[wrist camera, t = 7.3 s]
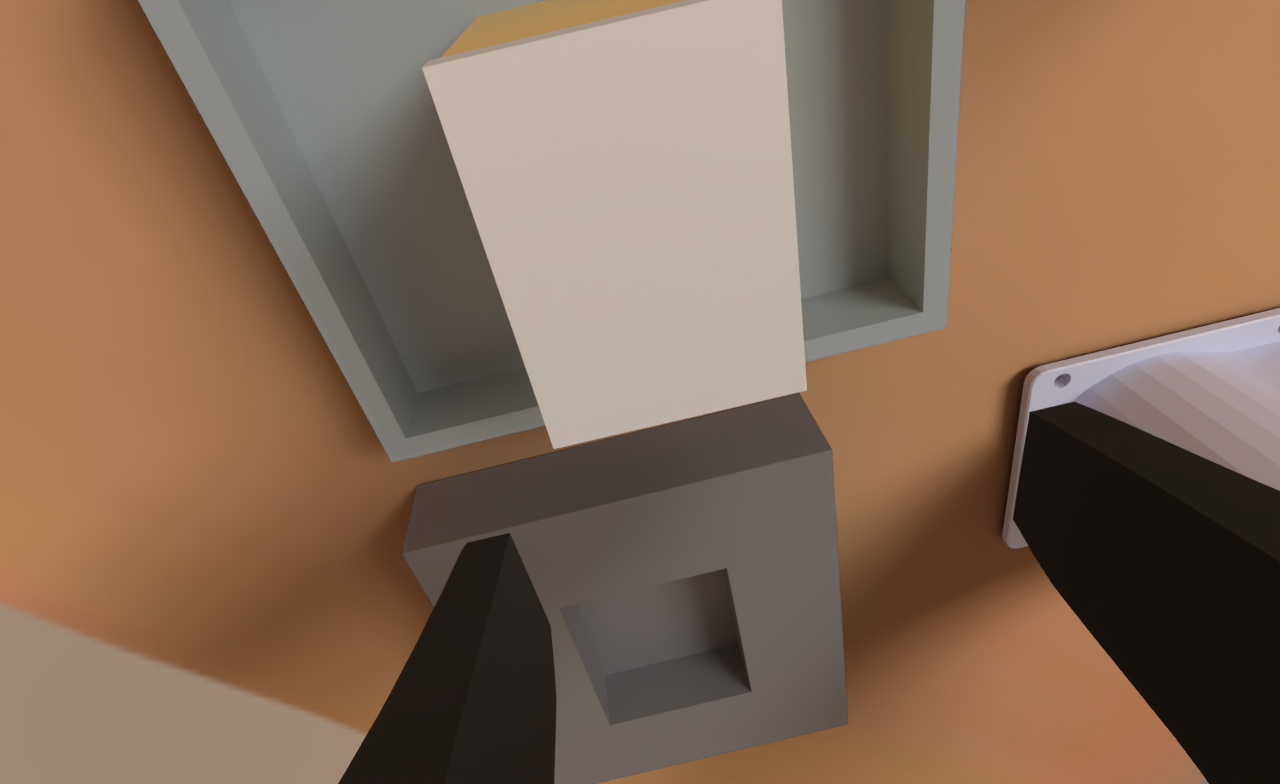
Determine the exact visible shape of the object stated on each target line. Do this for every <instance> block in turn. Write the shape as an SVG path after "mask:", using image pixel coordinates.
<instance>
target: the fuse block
mask: <svg viewBox="0 0 1280 784" xmlns="http://www.w3.org/2000/svg"><path fill="white" fill-rule="evenodd" d="M507 533H510V534H511V536H512V539H513V541H514V543H515V546H516V548H517V550H518V552H519V555H520V557H521V559H522V561H523V564H524V566H525V568H526V571H527V573H528V575H529V577H530V580H531V582H532V584H533V586H534V589H535V591H536V593H537V596H538V598H539V600H540V602H541V605H542V607H543V609H544V611H545V614H546V616H547V618H548V621H549V623H550V625H551V634H552V645H553V657H554V669H555V683H556V697H557V703H556V743H555V776H554V784H596V783H600V782H605V781H609V780H613V779H617V778H621V777H626V776H630V775H634V774H638V773H643V772H647V771H651V770H655V769H660V768H664V767H668V766H672V765H677V764H681V763H685V762H689V761H694V760H698V759H702V758H706V757H710V756H715V755H719V754H723V753H727V752H732V751H736V750H740V749H744V748H749V747H753V746H757V745H761V744H766V743H770V742H774V741H778V740H783V739H787V738H791V737H795V736H799V735H804V734H808V733H812V732H816V731H821V730H825V729H829V728H833V727H838V726H842V725H846V724H848V713H847V696H846V679H845V662H844V645H843V628H842V611H841V594H840V577H839V561H838V544H837V527H836V510H835V493H834V476H833V459H832V449H831V447H830V445H829V444H828V442H827V440H826V438H825V437H824V435H823V433H822V432H821V430H820V428H819V426H818V425H817V423H816V421H815V419H814V418H813V416H812V414H811V413H810V411H809V409H808V407H807V406H806V404H805V402H804V400H803V399H802V397H801V395H800V394H799V393H796V394H792V395H788V396H784V397H779V398H775V399H771V400H767V401H763V402H759V403H755V404H751V405H746V406H742V407H738V408H734V409H730V410H726V411H722V412H718V413H714V414H709V415H705V416H701V417H697V418H693V419H689V420H685V421H681V422H677V423H672V424H668V425H664V426H660V427H656V428H652V429H648V430H644V431H640V432H635V433H631V434H627V435H623V436H619V437H615V438H611V439H607V440H602V441H598V442H594V443H590V444H586V445H582V446H578V447H574V448H570V449H565V450H561V451H557V452H553V453H549V454H545V455H541V456H537V457H533V458H528V459H524V460H520V461H516V462H512V463H508V464H504V465H500V466H495V467H491V468H487V469H483V470H479V471H475V472H471V473H467V474H463V475H458V476H454V477H450V478H446V479H442V480H438V481H434V482H430V483H426V484H421V485H417V488H416V493H415V497H414V501H413V506H412V510H411V514H410V519H409V523H408V527H407V532H406V536H405V541H404V545H403V549H402V555H403V557H404V559H405V560H406V562H407V564H408V565H409V567H410V569H411V570H412V572H413V574H414V575H415V577H416V579H417V580H418V582H419V584H420V585H421V587H422V589H423V590H424V592H425V594H426V595H427V597H428V599H429V600H430V602H431V604H432V605H433V607H435V605H436V603H437V601H438V599H439V597H440V595H441V592H442V590H443V588H444V586H445V584H446V582H447V580H448V578H449V576H450V573H451V571H452V569H453V567H454V565H455V563H456V561H457V559H458V557H459V554H460V552H461V550H462V549H463V547H464V546H465V544H466V543H468V542H472V541H477V540H481V539H485V538H489V537H494V536H498V535H502V534H507Z"/></svg>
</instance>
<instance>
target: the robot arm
mask: <svg viewBox="0 0 1280 784" xmlns="http://www.w3.org/2000/svg"><path fill="white" fill-rule="evenodd" d="M1060 375H1061V376H1060ZM1058 376H1060V377H1059V378H1058V379H1057V380H1055V379H1056V378H1057V377H1058ZM1002 538H1003V540H1004V542H1005V543H1006V544H1007V545H1008V546H1009V547H1010V548H1014V549H1016V548H1022V547H1026V546H1029V548H1030V549H1031V551H1032V553H1033V555H1034V556H1035V558H1036V559H1037V561H1038V562H1039V564H1040V566H1041V567H1042V569H1043V570H1044V572H1045V573H1046V575H1047V577H1048V578H1049V580H1050V581H1051V583H1052V584H1053V586H1054V587H1055V588H1056V590H1057V591H1058V592H1059V593H1060V595H1061V596H1062V597H1063V599H1064V600H1065V601H1066V602H1067V604H1068V605H1069V606H1070V607H1071V609H1072V610H1073V611H1074V612H1075V614H1076V615H1077V616H1078V618H1079V619H1080V620H1081V621H1082V623H1083V624H1084V625H1085V626H1086V628H1087V629H1088V630H1089V631H1090V633H1091V634H1092V635H1093V636H1094V638H1095V639H1096V640H1097V641H1098V643H1099V644H1100V645H1101V646H1102V648H1103V649H1104V650H1105V651H1106V653H1107V654H1108V655H1109V656H1110V657H1111V659H1112V660H1113V661H1114V662H1115V664H1116V665H1117V666H1118V667H1119V669H1120V670H1121V671H1122V672H1123V674H1124V675H1125V676H1126V677H1127V679H1128V680H1129V681H1130V682H1131V683H1132V685H1133V686H1134V687H1135V688H1136V690H1137V691H1138V692H1139V693H1140V695H1141V696H1142V697H1143V698H1144V700H1145V701H1146V702H1147V703H1148V705H1149V706H1150V707H1151V708H1152V710H1153V711H1154V712H1155V713H1156V714H1157V716H1158V717H1159V718H1160V719H1161V721H1162V722H1163V723H1164V724H1165V726H1166V727H1167V728H1168V729H1169V731H1170V732H1171V733H1172V734H1173V736H1174V737H1175V738H1176V739H1177V741H1178V742H1179V743H1180V745H1181V746H1182V747H1183V749H1184V750H1185V751H1186V753H1187V754H1188V755H1189V757H1190V758H1191V759H1192V761H1193V762H1194V763H1195V765H1196V766H1197V767H1198V769H1199V770H1200V771H1201V773H1202V774H1203V776H1204V777H1205V779H1206V780H1207V782H1208V783H1209V784H1280V308H1277V309H1273V310H1269V311H1265V312H1260V313H1256V314H1252V315H1248V316H1244V317H1240V318H1236V319H1231V320H1227V321H1223V322H1219V323H1215V324H1211V325H1207V326H1203V327H1198V328H1194V329H1190V330H1186V331H1182V332H1178V333H1174V334H1170V335H1165V336H1161V337H1157V338H1153V339H1149V340H1145V341H1141V342H1137V343H1132V344H1128V345H1124V346H1120V347H1116V348H1112V349H1108V350H1104V351H1099V352H1095V353H1091V354H1087V355H1083V356H1079V357H1075V358H1071V359H1066V360H1062V361H1058V362H1054V363H1050V364H1046V365H1042V366H1039V367H1037V368H1035V369H1033V370H1032V371H1030V372H1029V374H1028V375H1027V376H1026V378H1025V381H1024V385H1023V392H1022V399H1021V406H1020V414H1019V421H1018V428H1017V435H1016V442H1015V449H1014V456H1013V463H1012V470H1011V477H1010V484H1009V492H1008V499H1007V506H1006V513H1005V520H1004V527H1003V534H1002ZM556 703H557V697H556V683H555V669H554V657H553V645H552V634H551V625H550V623H549V621H548V618H547V616H546V614H545V611H544V609H543V607H542V605H541V602H540V600H539V598H538V596H537V593H536V591H535V589H534V586H533V584H532V582H531V580H530V577H529V575H528V573H527V571H526V568H525V566H524V564H523V561H522V559H521V557H520V555H519V552H518V550H517V548H516V546H515V543H514V541H513V539H512V536H511V534H510V533H507V534H502V535H498V536H494V537H489V538H485V539H481V540H477V541H472V542H468V543H466V544H465V546H464V547H463V549H462V550H461V552H460V554H459V557H458V559H457V561H456V563H455V565H454V567H453V569H452V571H451V573H450V576H449V578H448V580H447V582H446V584H445V586H444V588H443V590H442V592H441V595H440V597H439V599H438V601H437V603H436V605H435V607H434V609H433V611H432V613H431V615H430V617H429V619H428V621H427V623H426V625H425V627H424V629H423V631H422V633H421V635H420V637H419V639H418V641H417V643H416V645H415V647H414V649H413V651H412V653H411V655H410V657H409V659H408V660H407V662H406V664H405V666H404V668H403V670H402V672H401V674H400V676H399V678H398V680H397V681H396V683H395V685H394V687H393V689H392V691H391V693H390V695H389V697H388V698H387V700H386V702H385V704H384V706H383V708H382V709H381V711H380V713H379V715H378V716H377V718H376V720H375V722H374V723H373V725H372V727H371V728H370V730H369V732H368V734H367V735H366V737H365V739H364V741H363V742H362V744H361V746H360V748H359V749H358V751H357V753H356V754H355V756H354V758H353V760H352V761H351V763H350V765H349V767H348V768H347V770H346V772H345V774H344V775H343V777H342V778H341V780H340V782H339V783H338V784H554V776H555V743H556Z"/></svg>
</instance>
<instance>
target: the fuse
mask: <svg viewBox="0 0 1280 784" xmlns="http://www.w3.org/2000/svg"><path fill="white" fill-rule="evenodd" d="M422 69H423V72H424V75H425V78H426V81H427V84H428V87H429V90H430V92H431V95H432V98H433V101H434V104H435V107H436V110H437V113H438V116H439V119H440V121H441V124H442V127H443V130H444V133H445V136H446V139H447V142H448V145H449V148H450V150H451V153H452V156H453V159H454V162H455V165H456V168H457V171H458V174H459V176H460V179H461V182H462V185H463V188H464V191H465V194H466V197H467V200H468V203H469V205H470V208H471V211H472V214H473V217H474V220H475V223H476V226H477V229H478V231H479V234H480V237H481V240H482V243H483V246H484V249H485V252H486V255H487V258H488V260H489V263H490V266H491V269H492V272H493V275H494V278H495V281H496V284H497V286H498V289H499V292H500V295H501V298H502V301H503V304H504V307H505V310H506V313H507V315H508V318H509V321H510V324H511V327H512V330H513V333H514V336H515V339H516V341H517V344H518V347H519V350H520V353H521V356H522V359H523V362H524V365H525V368H526V370H527V373H528V376H529V379H530V382H531V385H532V388H533V391H534V394H535V397H536V399H537V402H538V405H539V408H540V411H541V414H542V417H543V420H544V423H545V425H546V428H547V431H548V434H549V437H550V440H551V443H552V446H553V449H556V448H561V447H565V446H569V445H573V444H578V443H582V442H586V441H591V440H595V439H599V438H604V437H608V436H612V435H617V434H621V433H625V432H630V431H634V430H638V429H642V428H647V427H651V426H655V425H660V424H664V423H668V422H673V421H677V420H681V419H686V418H690V417H694V416H699V415H703V414H707V413H712V412H716V411H720V410H724V409H729V408H733V407H737V406H742V405H746V404H750V403H755V402H759V401H763V400H768V399H772V398H776V397H781V396H785V395H789V394H793V393H798V392H802V391H806V390H807V382H806V367H805V351H804V336H803V321H802V305H801V290H800V274H799V259H798V243H797V228H796V212H795V197H794V182H793V166H792V151H791V135H790V120H789V104H788V89H787V73H786V58H785V42H784V27H783V12H782V0H546V1H541V2H537V3H533V4H529V5H524V6H520V7H516V8H512V9H507V10H503V11H499V12H495V13H491V14H486V15H482V16H478V17H476V19H475V20H474V21H473V22H472V23H471V24H470V25H469V26H468V28H467V29H466V30H465V31H464V32H463V33H462V34H461V35H460V36H459V38H458V39H457V40H456V41H455V42H454V43H453V44H452V45H451V47H450V48H449V49H448V50H447V51H446V52H445V53H444V54H443V55H442V57H441V58H437V59H433V60H429V61H428V62H427V63H426V64H425V65H424V66H423V67H422Z"/></svg>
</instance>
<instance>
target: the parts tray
mask: <svg viewBox="0 0 1280 784" xmlns="http://www.w3.org/2000/svg"><path fill="white" fill-rule="evenodd" d="M541 1H546V0H138V2H139V3H140V5H141V7H142V9H143V11H144V13H145V14H146V16H147V18H148V20H149V22H150V23H151V25H152V27H153V29H154V31H155V33H156V34H157V36H158V38H159V40H160V42H161V43H162V45H163V47H164V49H165V51H166V53H167V54H168V56H169V58H170V60H171V62H172V63H173V65H174V67H175V69H176V71H177V73H178V74H179V76H180V78H181V80H182V82H183V84H184V85H185V87H186V89H187V91H188V93H189V94H190V96H191V98H192V100H193V102H194V104H195V105H196V107H197V109H198V111H199V113H200V114H201V116H202V118H203V120H204V122H205V124H206V125H207V127H208V129H209V131H210V133H211V134H212V136H213V138H214V140H215V142H216V144H217V145H218V147H219V149H220V151H221V153H222V154H223V156H224V158H225V160H226V162H227V164H228V165H229V167H230V169H231V171H232V173H233V175H234V176H235V178H236V180H237V182H238V184H239V185H240V187H241V189H242V191H243V193H244V195H245V196H246V198H247V200H248V202H249V204H250V205H251V207H252V209H253V211H254V213H255V215H256V216H257V218H258V220H259V222H260V224H261V225H262V227H263V229H264V231H265V233H266V235H267V236H268V238H269V240H270V242H271V244H272V245H273V247H274V249H275V251H276V253H277V255H278V256H279V258H280V260H281V262H282V264H283V266H284V267H285V269H286V271H287V273H288V275H289V276H290V278H291V280H292V282H293V284H294V286H295V287H296V289H297V291H298V293H299V295H300V296H301V298H302V300H303V302H304V304H305V306H306V307H307V309H308V311H309V313H310V315H311V316H312V318H313V320H314V322H315V324H316V326H317V327H318V329H319V331H320V333H321V335H322V336H323V338H324V340H325V342H326V344H327V346H328V347H329V349H330V351H331V353H332V355H333V357H334V358H335V360H336V362H337V364H338V366H339V367H340V369H341V371H342V373H343V375H344V377H345V378H346V380H347V382H348V384H349V386H350V387H351V389H352V391H353V393H354V395H355V397H356V398H357V400H358V402H359V404H360V406H361V407H362V409H363V411H364V413H365V415H366V417H367V418H368V420H369V422H370V424H371V426H372V427H373V429H374V431H375V433H376V435H377V437H378V438H379V440H380V442H381V444H382V446H383V448H384V449H385V451H386V453H387V455H388V457H389V458H390V460H391V462H392V463H393V462H397V461H402V460H406V459H410V458H414V457H418V456H422V455H426V454H430V453H434V452H439V451H443V450H447V449H451V448H455V447H459V446H463V445H467V444H471V443H475V442H480V441H484V440H488V439H492V438H496V437H500V436H504V435H508V434H512V433H516V432H521V431H525V430H529V429H533V428H537V427H541V426H545V423H544V420H543V417H542V414H541V411H540V408H539V405H538V402H537V399H536V397H535V394H534V391H533V388H532V385H531V382H530V379H529V376H528V373H527V370H526V368H525V365H524V362H523V359H522V356H521V353H520V350H519V347H518V344H517V341H516V339H515V336H514V333H513V330H512V327H511V324H510V321H509V318H508V315H507V313H506V310H505V307H504V304H503V301H502V298H501V295H500V292H499V289H498V286H497V284H496V281H495V278H494V275H493V272H492V269H491V266H490V263H489V260H488V258H487V255H486V252H485V249H484V246H483V243H482V240H481V237H480V234H479V231H478V229H477V226H476V223H475V220H474V217H473V214H472V211H471V208H470V205H469V203H468V200H467V197H466V194H465V191H464V188H463V185H462V182H461V179H460V176H459V174H458V171H457V168H456V165H455V162H454V159H453V156H452V153H451V150H450V148H449V145H448V142H447V139H446V136H445V133H444V130H443V127H442V124H441V121H440V119H439V116H438V113H437V110H436V107H435V104H434V101H433V98H432V95H431V92H430V90H429V87H428V84H427V81H426V78H425V75H424V72H423V69H422V67H423V66H424V65H425V64H426V63H427V62H428V61H429V60H433V59H437V58H441V57H442V55H443V54H444V53H445V52H446V51H447V50H448V49H449V48H450V47H451V45H452V44H453V43H454V42H455V41H456V40H457V39H458V38H459V36H460V35H461V34H462V33H463V32H464V31H465V30H466V29H467V28H468V26H469V25H470V24H471V23H472V22H473V21H474V20H475V19H476V17H478V16H482V15H486V14H491V13H495V12H499V11H503V10H507V9H512V8H516V7H520V6H524V5H529V4H533V3H537V2H541ZM782 12H783V27H784V42H785V58H786V73H787V89H788V104H789V120H790V135H791V151H792V166H793V182H794V197H795V212H796V228H797V243H798V259H799V274H800V290H801V305H802V321H803V336H804V351H805V362H808V361H812V360H816V359H820V358H824V357H828V356H833V355H837V354H841V353H845V352H849V351H853V350H857V349H861V348H865V347H870V346H874V345H878V344H882V343H886V342H890V341H894V340H898V339H902V338H906V337H911V336H915V335H919V334H923V333H927V332H931V331H935V330H939V329H943V328H946V325H947V308H948V291H949V274H950V257H951V240H952V223H953V206H954V188H955V171H956V154H957V137H958V120H959V103H960V86H961V69H962V52H963V35H964V18H965V0H782Z"/></svg>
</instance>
